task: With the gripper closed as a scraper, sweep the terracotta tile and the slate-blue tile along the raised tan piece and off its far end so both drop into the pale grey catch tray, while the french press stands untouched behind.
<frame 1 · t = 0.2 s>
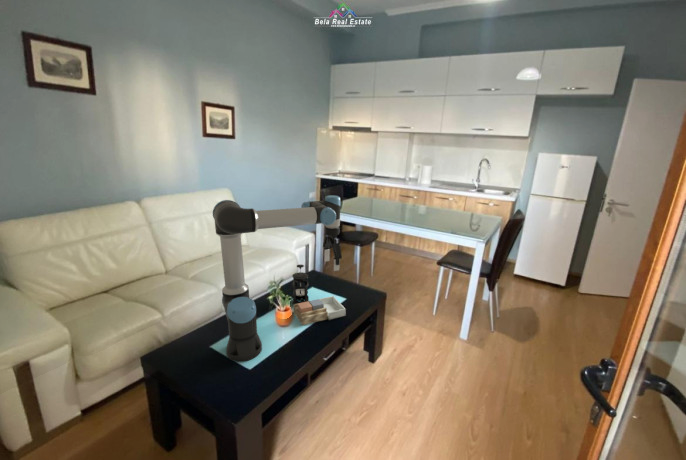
hand: (331, 265, 167), 28 cm above the table, fingers open, 13 cm apart
tan piece: (310, 315, 171), on the table
terracotta tile: (304, 310, 168), point 4 cm above the table, touching tan piece
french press: (300, 302, 184), on the table
slate tile: (316, 307, 171), point 4 cm above the table, touching tan piece
catch tray: (331, 310, 176), on the table
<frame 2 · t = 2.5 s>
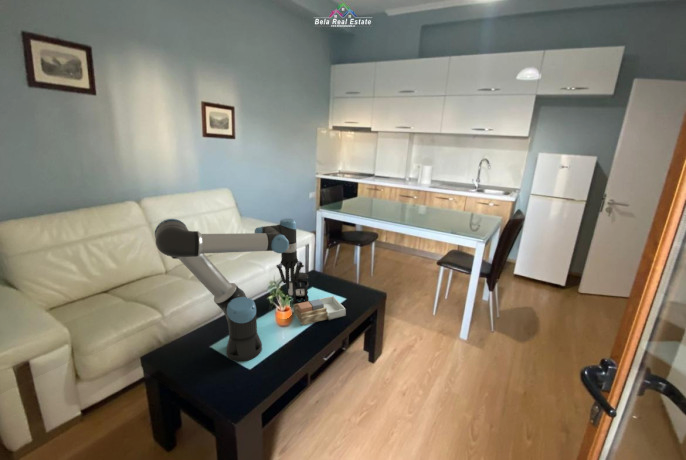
hand: (290, 294, 162), 15 cm above the table, fingers closed
nothing on the table moved.
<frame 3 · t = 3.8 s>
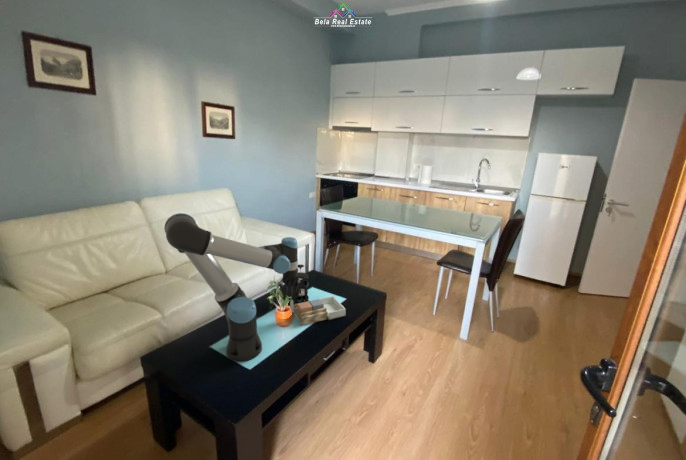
hand: (291, 310, 165), 5 cm above the table, fingers closed
nothing on the table moved.
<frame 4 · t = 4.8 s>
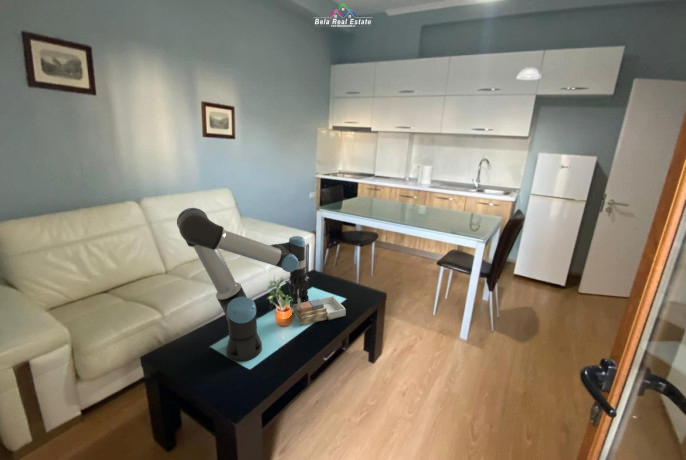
hand: (298, 308, 166), 6 cm above the table, fingers closed
terracotta tile: (305, 310, 168), point 4 cm above the table, touching tan piece, gripper
everything else where it was.
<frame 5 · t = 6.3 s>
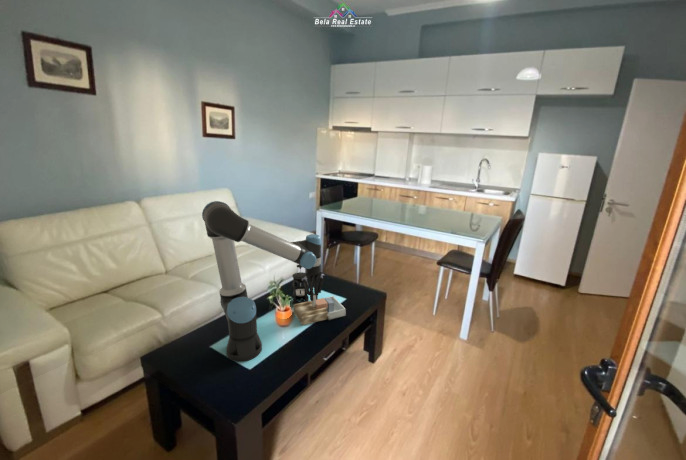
hand: (313, 305, 170), 6 cm above the table, fingers closed
terracotta tile: (320, 306, 172), point 4 cm above the table, touching gripper
slate tile: (326, 305, 174), point 3 cm above the table, tilted 90°, touching catch tray
everything else where it was.
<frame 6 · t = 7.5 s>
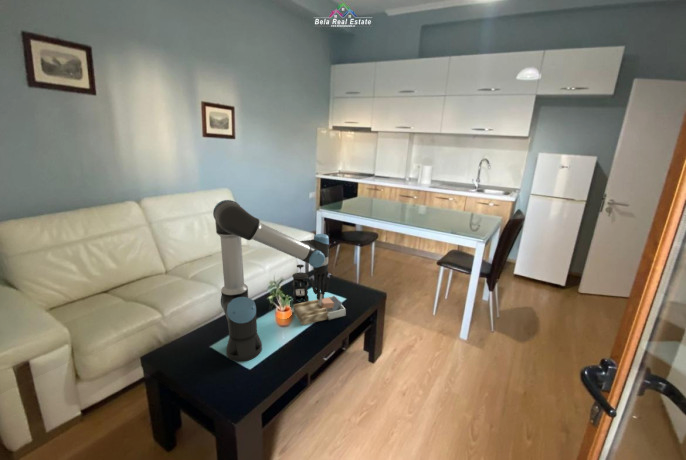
hand: (320, 304, 172), 5 cm above the table, fingers closed
terracotta tile: (325, 305, 174), point 4 cm above the table, tilted 8°, touching tan piece, gripper, slate tile
slate tile: (332, 302, 175), point 5 cm above the table, tilted 131°, touching catch tray, terracotta tile
everything else where it was.
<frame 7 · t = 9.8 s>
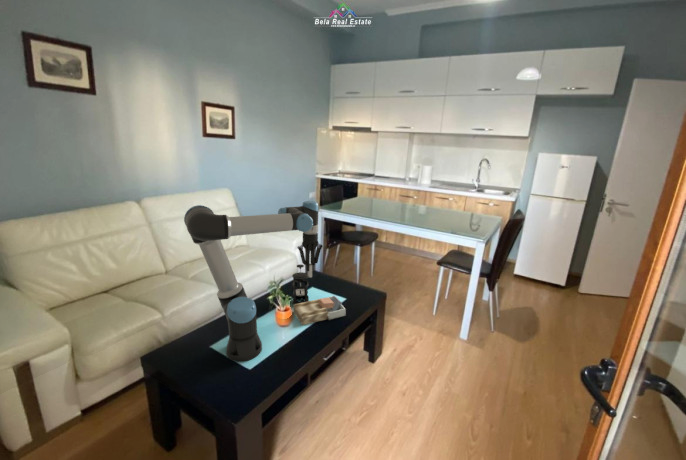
hand: (309, 276, 164), 23 cm above the table, fingers closed
terracotta tile: (325, 305, 174), point 4 cm above the table, tilted 8°, touching tan piece, slate tile
everything else where it was.
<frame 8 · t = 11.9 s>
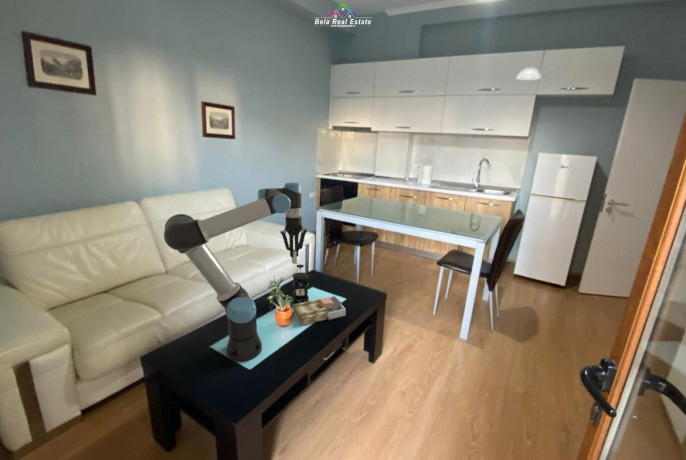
hand: (294, 262, 156), 32 cm above the table, fingers closed
nothing on the table moved.
at the end: terracotta tile inside the target area (3.9 cm from its centre), point 3.7 cm above the table; slate tile inside the target area (0.4 cm from its centre), point 4.7 cm above the table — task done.
